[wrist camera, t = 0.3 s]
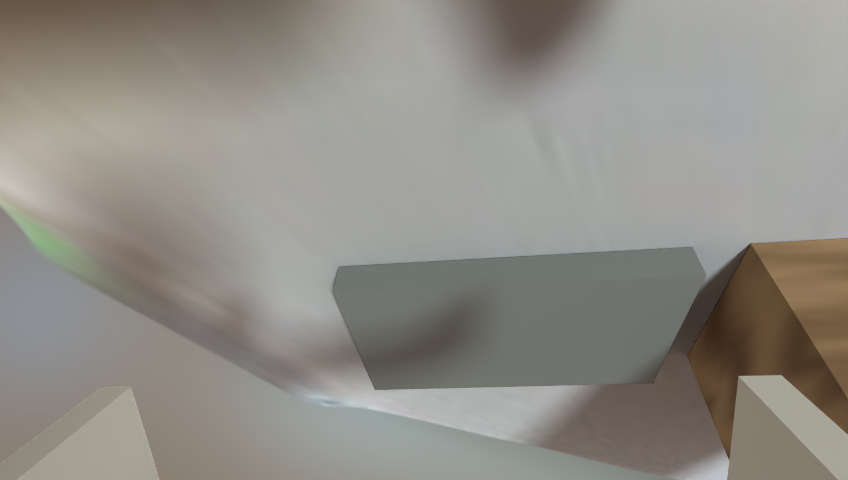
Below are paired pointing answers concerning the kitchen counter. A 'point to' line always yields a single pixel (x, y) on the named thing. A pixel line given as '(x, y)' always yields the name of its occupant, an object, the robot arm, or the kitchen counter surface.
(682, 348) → the kitchen counter surface
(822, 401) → the brown wooden tall block
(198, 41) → the kitchen counter surface
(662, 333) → the gray block
